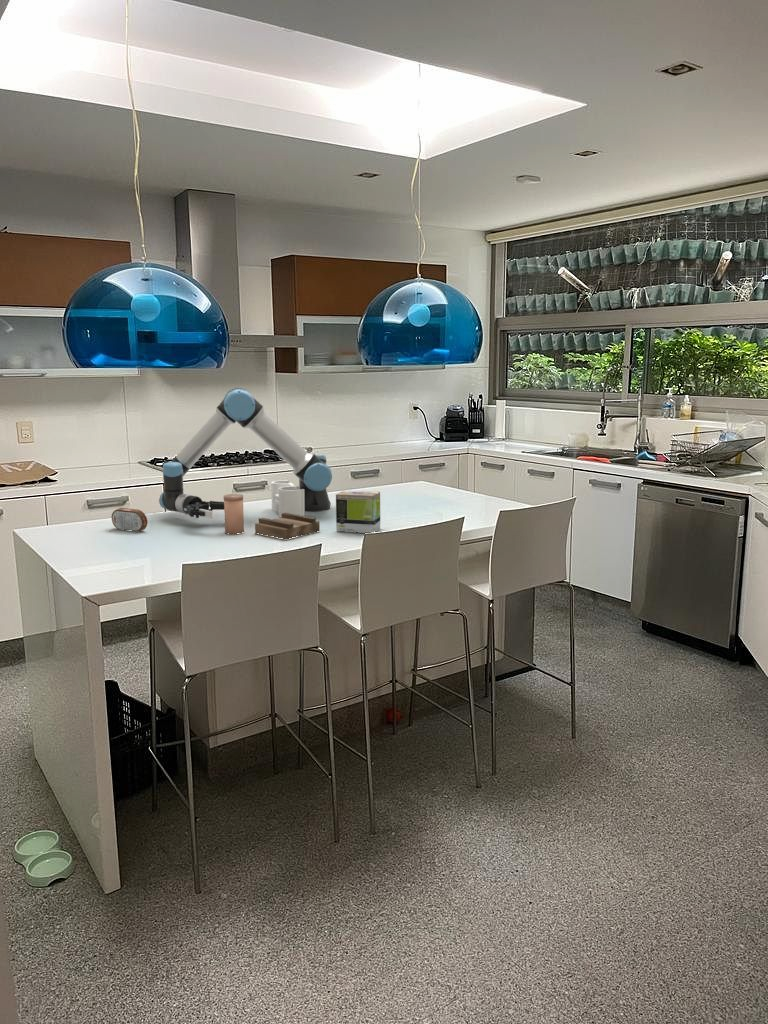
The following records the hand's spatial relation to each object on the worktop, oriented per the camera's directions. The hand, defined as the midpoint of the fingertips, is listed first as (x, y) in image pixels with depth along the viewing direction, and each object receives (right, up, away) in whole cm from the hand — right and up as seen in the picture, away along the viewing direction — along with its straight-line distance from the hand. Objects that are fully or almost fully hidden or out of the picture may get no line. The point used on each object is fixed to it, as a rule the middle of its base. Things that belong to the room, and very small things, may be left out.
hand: (225, 511), depth 301 cm
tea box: (+50, -7, +4) cm, 51 cm away
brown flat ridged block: (+23, -8, -1) cm, 25 cm away
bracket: (+19, -1, +33) cm, 38 cm away
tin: (-37, -7, +2) cm, 38 cm away
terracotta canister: (+3, -8, 0) cm, 8 cm away
